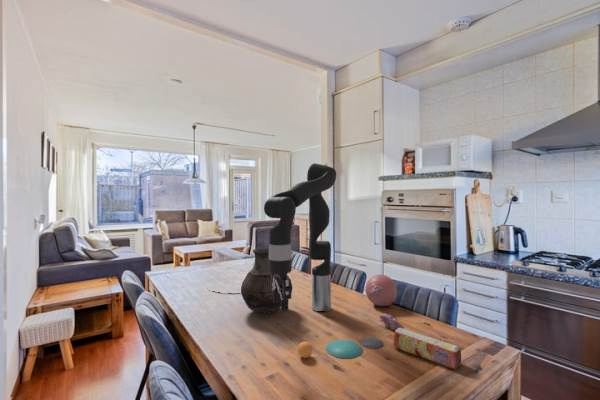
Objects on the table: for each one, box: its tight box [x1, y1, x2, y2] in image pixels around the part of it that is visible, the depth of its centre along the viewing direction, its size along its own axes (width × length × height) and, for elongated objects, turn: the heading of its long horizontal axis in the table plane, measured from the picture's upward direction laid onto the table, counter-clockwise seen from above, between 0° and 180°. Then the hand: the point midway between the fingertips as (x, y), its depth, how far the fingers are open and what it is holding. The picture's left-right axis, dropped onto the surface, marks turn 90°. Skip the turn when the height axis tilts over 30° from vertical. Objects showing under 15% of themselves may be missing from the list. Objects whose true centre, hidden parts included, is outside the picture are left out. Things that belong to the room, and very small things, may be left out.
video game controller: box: [379, 313, 405, 332], centre depth 124 cm, size 10×5×7 cm, turn 21°
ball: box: [297, 341, 313, 359], centre depth 102 cm, size 5×5×5 cm
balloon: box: [364, 274, 398, 307], centre depth 149 cm, size 15×20×15 cm
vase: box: [240, 247, 293, 314], centre depth 143 cm, size 25×25×30 cm
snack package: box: [393, 328, 462, 370], centre depth 102 cm, size 21×7×7 cm, turn 46°
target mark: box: [325, 339, 363, 360], centre depth 107 cm, size 13×13×1 cm
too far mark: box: [361, 337, 385, 349], centre depth 111 cm, size 8×8×1 cm
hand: (280, 306), depth 98 cm, fingers open, 8 cm apart
